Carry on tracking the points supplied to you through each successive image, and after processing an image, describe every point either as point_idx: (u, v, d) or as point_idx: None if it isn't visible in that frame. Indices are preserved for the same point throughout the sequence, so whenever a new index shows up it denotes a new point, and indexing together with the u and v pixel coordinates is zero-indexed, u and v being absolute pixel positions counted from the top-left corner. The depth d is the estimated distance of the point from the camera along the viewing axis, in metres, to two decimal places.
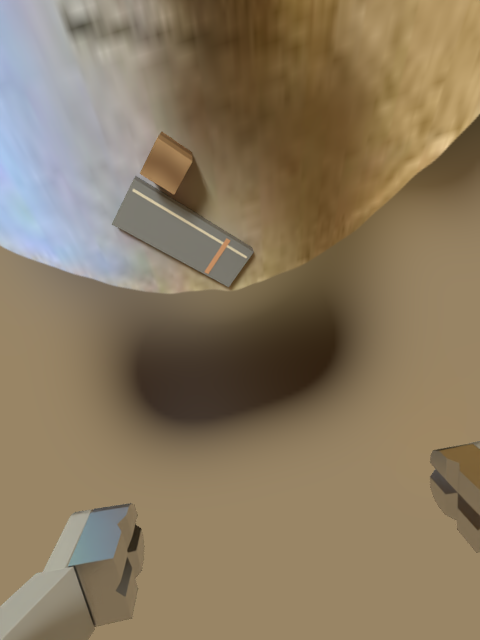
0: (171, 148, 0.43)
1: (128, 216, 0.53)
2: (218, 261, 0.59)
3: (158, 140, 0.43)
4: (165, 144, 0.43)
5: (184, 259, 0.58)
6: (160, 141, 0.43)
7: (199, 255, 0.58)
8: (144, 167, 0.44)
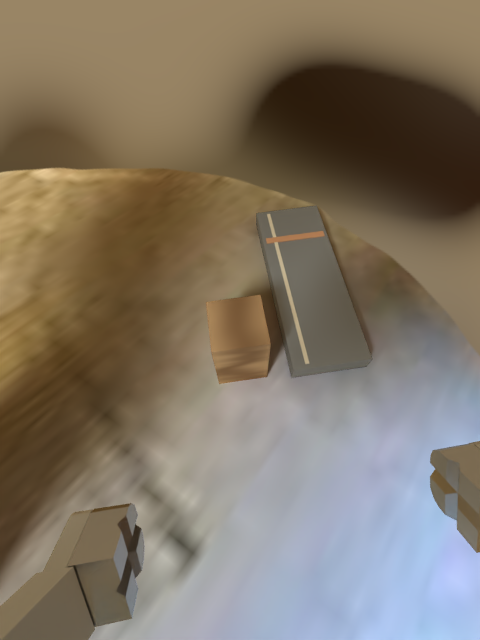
0: (210, 331, 0.29)
1: (343, 348, 0.35)
2: (299, 232, 0.42)
3: (213, 349, 0.28)
4: (211, 339, 0.29)
5: (331, 262, 0.40)
6: (213, 346, 0.29)
7: (311, 252, 0.41)
8: (258, 343, 0.29)
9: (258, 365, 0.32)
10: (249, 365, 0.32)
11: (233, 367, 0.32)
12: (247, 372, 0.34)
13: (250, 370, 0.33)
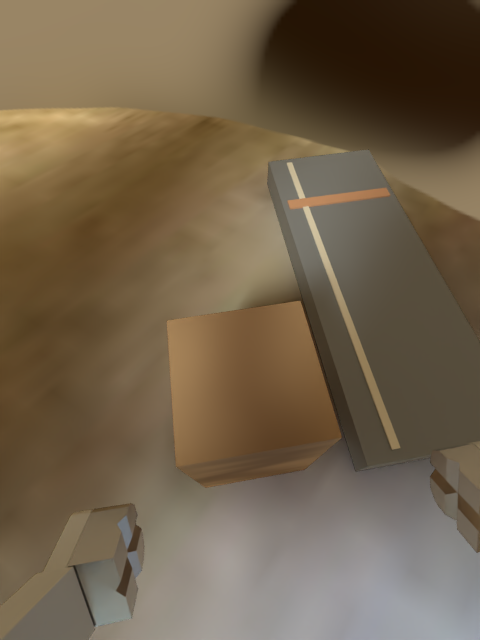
0: (176, 399, 0.11)
1: (466, 411, 0.16)
2: (345, 190, 0.24)
3: (182, 456, 0.10)
4: (178, 425, 0.11)
5: (410, 239, 0.22)
6: (181, 447, 0.10)
7: (371, 223, 0.23)
8: (308, 437, 0.10)
9: (292, 463, 0.14)
10: (272, 466, 0.14)
11: (235, 472, 0.13)
12: (266, 472, 0.15)
13: (273, 469, 0.15)
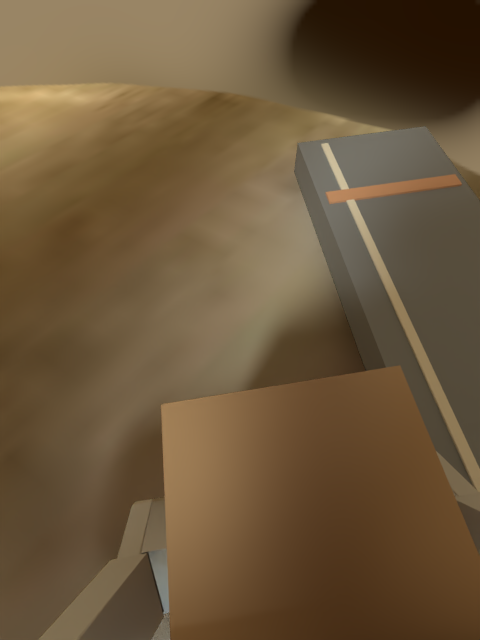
0: (177, 585, 0.05)
1: None
2: (400, 178, 0.19)
3: None
4: None
5: None
6: None
7: (441, 221, 0.17)
8: None
9: None
10: None
11: None
12: None
13: None
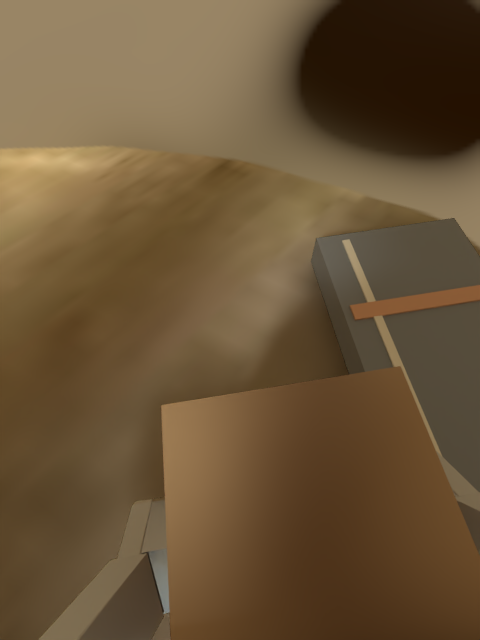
0: (178, 587, 0.05)
1: None
2: (431, 287, 0.17)
3: None
4: None
5: None
6: None
7: (479, 346, 0.15)
8: None
9: None
10: None
11: None
12: None
13: None
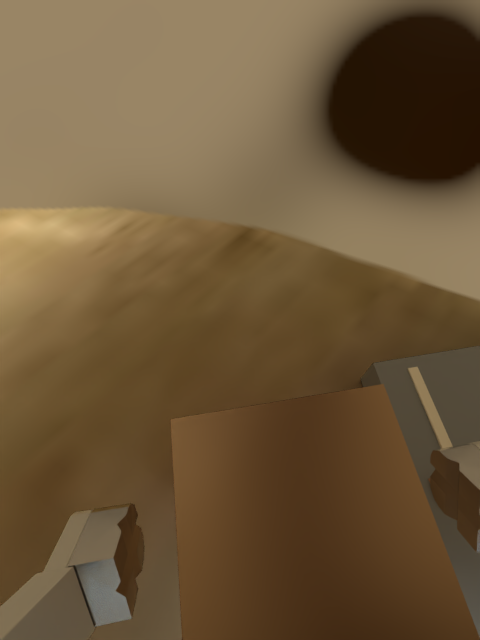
0: (187, 579, 0.06)
1: None
2: None
3: None
4: (191, 639, 0.06)
5: None
6: None
7: None
8: None
9: None
10: None
11: None
12: None
13: None
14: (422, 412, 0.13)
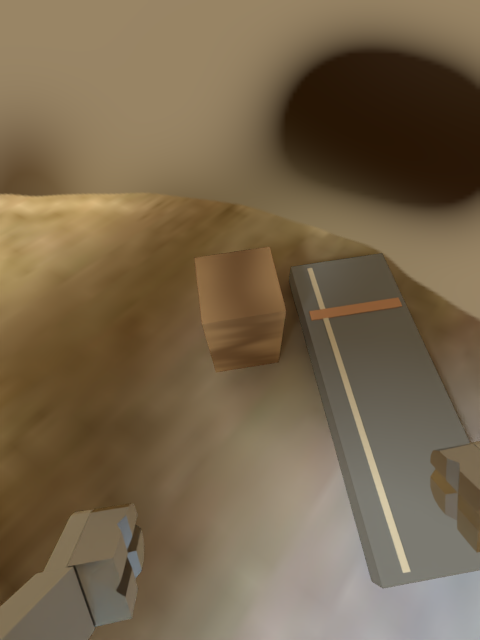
0: (201, 295, 0.21)
1: None
2: (361, 299, 0.27)
3: (205, 319, 0.20)
4: (202, 306, 0.20)
5: (420, 354, 0.25)
6: (204, 315, 0.20)
7: (385, 336, 0.25)
8: (269, 310, 0.20)
9: (267, 345, 0.24)
10: (255, 345, 0.24)
11: (233, 347, 0.23)
12: (253, 356, 0.25)
13: (257, 353, 0.25)
14: (311, 286, 0.28)
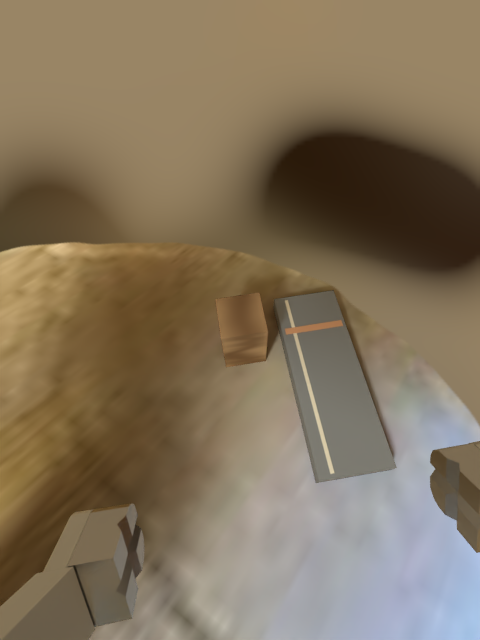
0: (219, 321, 0.37)
1: (367, 455, 0.35)
2: (317, 321, 0.43)
3: (222, 336, 0.36)
4: (220, 328, 0.36)
5: (351, 355, 0.40)
6: (222, 334, 0.36)
7: (331, 345, 0.41)
8: (258, 331, 0.36)
9: (258, 350, 0.40)
10: (250, 350, 0.39)
11: (237, 351, 0.39)
12: (249, 356, 0.41)
13: (252, 355, 0.41)
14: (286, 312, 0.44)
